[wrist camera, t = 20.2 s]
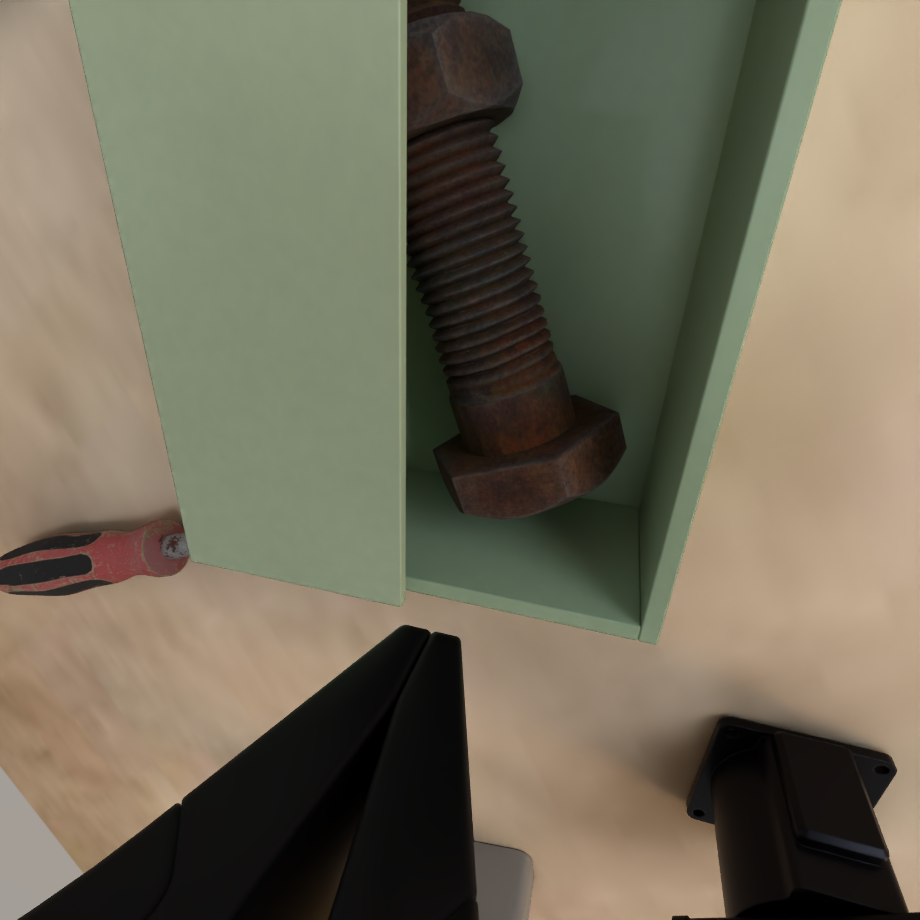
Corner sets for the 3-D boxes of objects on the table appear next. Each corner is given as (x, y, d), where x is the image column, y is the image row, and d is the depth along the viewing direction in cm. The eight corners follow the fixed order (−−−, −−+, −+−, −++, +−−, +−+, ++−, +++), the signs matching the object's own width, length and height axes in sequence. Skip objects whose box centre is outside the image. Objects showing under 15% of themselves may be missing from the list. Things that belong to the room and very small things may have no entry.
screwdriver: (429, 451, 22) (402, 490, 19) (453, 516, 23) (431, 561, 20) (14, 534, 31) (-42, 568, 28) (45, 579, 32) (-6, 615, 29)
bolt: (435, -77, 16) (569, 427, 21) (255, -28, 15) (438, 478, 20) (496, -271, 10) (658, 475, 15) (219, -205, 10) (482, 548, 15)
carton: (650, 514, 21) (657, 646, 15) (306, 454, 23) (205, 546, 18) (841, -270, 12) (1032, -657, 6) (246, -219, 14) (5, -454, 9)
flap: (405, 598, 16) (400, 608, 16) (199, 553, 18) (190, 561, 17) (410, -558, 7) (399, -594, 7) (-16, -474, 9) (-42, -500, 8)
